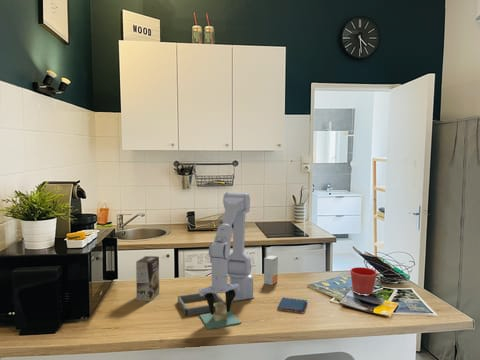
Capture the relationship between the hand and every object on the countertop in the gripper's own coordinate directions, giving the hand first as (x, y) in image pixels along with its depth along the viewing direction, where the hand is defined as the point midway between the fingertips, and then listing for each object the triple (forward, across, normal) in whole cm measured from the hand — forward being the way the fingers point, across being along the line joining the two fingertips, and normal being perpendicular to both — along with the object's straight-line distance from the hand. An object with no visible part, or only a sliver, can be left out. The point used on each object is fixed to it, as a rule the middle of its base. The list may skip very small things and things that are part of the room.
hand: (219, 312), depth 133 cm
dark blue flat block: (+4, +30, 0) cm, 30 cm away
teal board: (+3, 0, 0) cm, 3 cm away
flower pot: (+3, +65, +2) cm, 65 cm away
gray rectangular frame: (+3, -3, +14) cm, 15 cm away
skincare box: (+3, +34, +28) cm, 44 cm away
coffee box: (+3, -21, +32) cm, 38 cm away
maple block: (+2, 0, 0) cm, 2 cm away
